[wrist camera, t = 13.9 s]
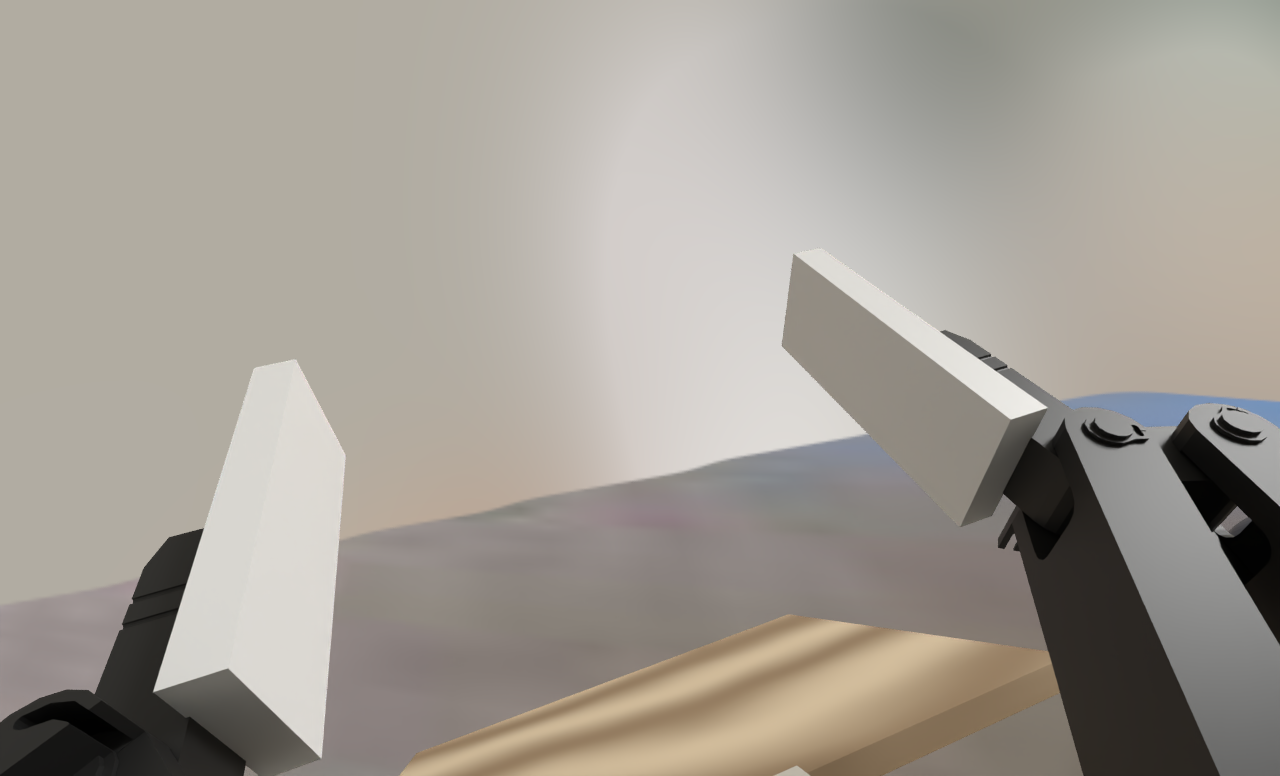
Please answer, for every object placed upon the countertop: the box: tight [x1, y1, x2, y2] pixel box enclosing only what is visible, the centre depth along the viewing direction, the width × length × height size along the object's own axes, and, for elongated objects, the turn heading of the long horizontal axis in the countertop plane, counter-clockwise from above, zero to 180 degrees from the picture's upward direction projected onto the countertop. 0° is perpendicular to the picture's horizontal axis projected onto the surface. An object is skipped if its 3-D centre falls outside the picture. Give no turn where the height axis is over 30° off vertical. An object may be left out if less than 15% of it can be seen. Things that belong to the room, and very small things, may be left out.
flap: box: [400, 614, 1060, 776], centre depth 16 cm, size 23×18×1 cm
